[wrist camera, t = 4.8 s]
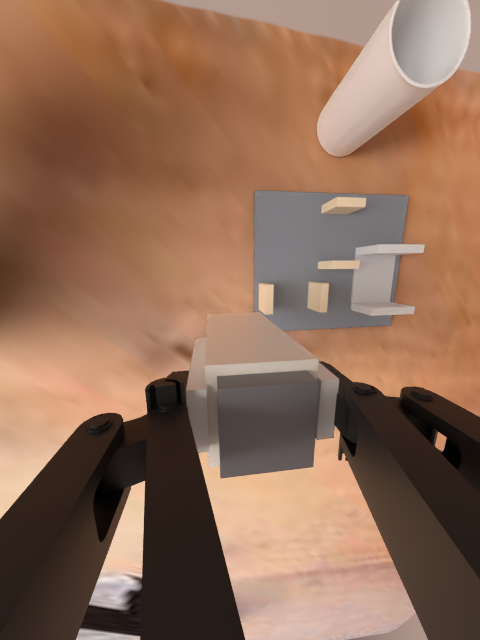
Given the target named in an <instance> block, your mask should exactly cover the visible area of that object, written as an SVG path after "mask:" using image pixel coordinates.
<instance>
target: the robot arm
mask: <svg viewBox="0 0 480 640" xmlns="http://www.w3.org/2000/svg"><path fill="white" fill-rule="evenodd" d="M205 347H206V338H195V344H194V349H193V355H192V360H191V365H190V371H178V372H172V373H171V374H170V375H168V376H167V378H162V379H158V380H155V381H153V382H151V383H150V384H149V385H147V387H146V389H145V393H146V402H147V414H146V415H144V416H142V417H140V418H137V419H134V420H130V421H127V422H123V418H122V416H121V415H119V414H117V413H105V414H100V415H96V416H94V417H92V418H90V419H88V420H87V421H85V422H83V423H82V424H81V425H80V426H79V427H78V428H77V429H76V430H75V431H74V433H73V434H72V435H71V436H70V437H69V438H68V440H67V441H66V442H65V443H64V444H63V446H62V447H61V448H60V449H59V450H58V452H57V453H56V454H55V455H54V456H53V457H52V459H51V460H50V461H49V462H48V463H47V465H46V466H45V467H44V468H43V469H42V470H41V472H40V473H39V474H38V475H37V476H36V478H35V479H34V480H33V481H32V482H31V483H30V485H29V486H28V487H27V488H26V489H25V491H24V492H23V493H22V494H21V495H20V497H19V498H18V499H17V500H16V501H15V502H14V504H13V505H12V506H11V507H10V508H9V510H8V511H7V512H6V513H5V514H4V515H3V517H2V518H1V519H0V640H76V637H77V635H78V632H79V629H80V626H81V624H82V621H83V618H84V616H85V613H86V610H87V607H88V605H89V602H90V599H91V596H92V594H93V591H94V588H95V585H96V583H97V580H98V577H99V575H100V572H101V569H102V566H103V564H104V561H105V558H106V555H107V553H108V550H109V547H110V545H111V542H112V539H113V536H114V534H115V531H116V528H117V525H118V523H119V520H120V517H121V515H122V512H123V509H124V506H125V504H126V501H127V498H128V495H129V493H130V490H131V486H132V485H135V484H137V483H140V482H142V481H145V506H144V539H143V571H142V604H141V636H140V640H245V637H244V633H243V629H242V625H241V621H240V617H239V613H238V609H237V605H236V601H235V597H234V593H233V590H232V586H231V582H230V578H229V574H228V570H227V566H226V562H225V558H224V554H223V550H222V546H221V542H220V538H219V534H218V530H217V526H216V522H215V518H214V514H213V510H212V506H211V502H210V498H209V494H208V491H207V487H206V483H205V479H204V475H203V471H202V467H201V463H200V459H199V455H198V453H202V452H209V424H208V401H207V384H205ZM317 381H318V382H319V388H318V403H317V417H316V432H315V438H316V439H317V440H319V439H328V438H334V428H335V426H336V427H337V428H338V430H339V431H340V441H339V451H338V459H339V460H342V454H343V453H344V454H345V456H346V458H345V460H346V461H348V462H349V465H350V467H351V469H352V471H353V474H354V476H355V478H356V480H357V482H358V485H359V487H360V489H361V491H362V494H363V496H364V498H365V500H366V502H367V505H368V507H369V509H370V511H371V514H372V516H373V518H374V520H375V522H376V525H377V527H378V529H379V531H380V534H381V536H382V538H383V540H384V542H385V545H386V547H387V549H388V551H389V554H390V556H391V558H392V560H393V562H394V565H395V567H396V569H397V571H398V574H399V576H400V578H401V580H402V582H403V585H404V587H405V589H406V591H407V594H408V596H409V598H410V600H411V602H412V605H413V607H414V609H415V611H416V614H417V616H418V618H419V620H420V622H421V624H422V627H423V629H424V631H425V633H426V636H427V638H428V640H480V417H479V416H477V415H475V414H473V413H471V412H469V411H467V410H466V409H464V408H462V407H460V406H458V405H456V404H454V403H453V402H451V401H449V400H447V399H445V398H443V397H441V396H440V395H438V394H436V393H433V392H431V391H429V390H426V389H424V388H420V387H404V388H402V390H401V394H400V398H398V397H388V396H384V395H383V393H382V392H381V391H379V390H378V389H377V388H375V387H374V386H371V385H368V384H365V383H358V382H352V381H351V380H349V379H348V378H347V377H346V376H344V375H343V374H341V373H340V372H339V371H338V370H336V369H335V368H334V367H333V366H331V365H330V364H327V363H325V362H323V361H322V362H318V375H317ZM438 432H440V433H441V434H443V435H444V436H445V437H447V439H446V444H445V448H444V451H443V452H442V451H440V450H438V449H437V448H436V447H435V443H436V438H437V433H438Z"/></svg>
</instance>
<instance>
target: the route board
mask: <svg viewBox="0 0 480 640" xmlns="http://www.w3.org/2000/svg"><path fill="white" fill-rule="evenodd" d="M408 198H409V196H404V195H374V194H345V193H315V192H286V191H257V190H255V192H254V312H260V313H261V314H262V315H264V316H265V317H266V318H267V319H269V320H270V321H271V322H273V323H274V324H275V325H276V326H278V327H279V328H280V329H281V330H283V331H291V330H311V329H332V328H352V327H372V326H391V321H392V315H403V314H414V309H415V306H410V305H404V304H399V303H394V299H395V292H396V285H397V278H398V270H399V263H400V256H401V255H403V254H417V253H424V247H425V244H402V241H403V234H404V227H405V220H406V213H407V205H408Z"/></svg>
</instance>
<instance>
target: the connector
mask: <svg viewBox="0 0 480 640" xmlns="http://www.w3.org/2000/svg"><path fill="white" fill-rule="evenodd" d="M318 360H319V359H318V358H317V357H315V356H314V355H313V354H312V353H310V352H309V351H308V350H307V349H305V348H304V347H303V346H302V345H300V344H299V343H298V342H296V341H295V340H294V339H293V338H291V337H290V336H289V335H288V334H286V333H285V332H284V331H283V330H281V329H280V328H279V327H278V326H276V325H275V324H274V323H273V322H271V321H270V320H269V319H267V318H266V317H265V316H264V315H262V314H261V313H260V312H249V313H217V314H207V328H206V347H205V384H207V401H208V424H209V452H208V458H209V467H218V466H220V476H221V478H228V477H236V476H244V475H252V474H260V473H268V472H276V471H285V470H293V469H301V468H309V467H313V461H314V446H315V432H316V417H317V403H318V388H319V382H318V381H317V375H318Z"/></svg>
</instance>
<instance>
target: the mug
mask: <svg viewBox="0 0 480 640" xmlns="http://www.w3.org/2000/svg"><path fill="white" fill-rule="evenodd" d="M470 34H471V14H470V8H469V4H468V1H467V0H397V1H396V3H395V4H394V5H393V7H392V8H391V9H390V11H389V12H388V13H387V15H386V16H385V18H384V19H383V21H382V22H381V23H380V25H379V26H378V28H377V29H376V31H375V32H374V34H373V35H372V37H371V38H370V40H369V41H368V43H367V44H366V46H365V47H364V49H363V50H362V51H361V53H360V54H359V56H358V57H357V59H356V60H355V62H354V63H353V65H352V66H351V68H350V69H349V71H348V72H347V74H346V75H345V77H344V78H343V80H342V81H341V83H340V84H339V86H338V87H337V88H336V90H335V91H334V93H333V94H332V96H331V98H330V99H329V101H328V102H327V104H326V105H325V107H324V108H323V110H322V111H321V113H320V116H319V119H318V123H317V135H318V139H319V142H320V144H321V146H322V148H323V149H324V150H325V151H326V152H327V153H328V154H330V155H332V156H335V157H343V156H347V155H349V154H351V153H352V152H354V151H355V150H356V149H357V148H359V147H360V146H361V145H363V144H364V143H366V142H367V141H368V140H369V139H371V138H372V137H373V136H375V135H376V134H377V133H379V132H380V131H381V130H382V129H384V128H385V127H386V126H388V125H389V124H390V123H392V122H393V121H394V120H396V119H397V118H398V117H400V116H401V115H402V114H403V113H405V112H406V111H407V110H409V109H410V108H411V107H413V106H414V105H415V104H417V103H418V102H419V101H421V100H422V99H423V98H424V97H426V96H427V95H428V94H430V93H431V92H432V91H433V90H435V89H436V88H437V87H438V86H440V85H441V84H442V83H444V82H445V81H447V80H448V79H449V78H450V77H451V76H452V75H453V74H454V73H455V72H456V70H457V69H458V68H459V66H460V64H461V63H462V60H463V58H464V56H465V54H466V51H467V48H468V45H469V41H470Z"/></svg>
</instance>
